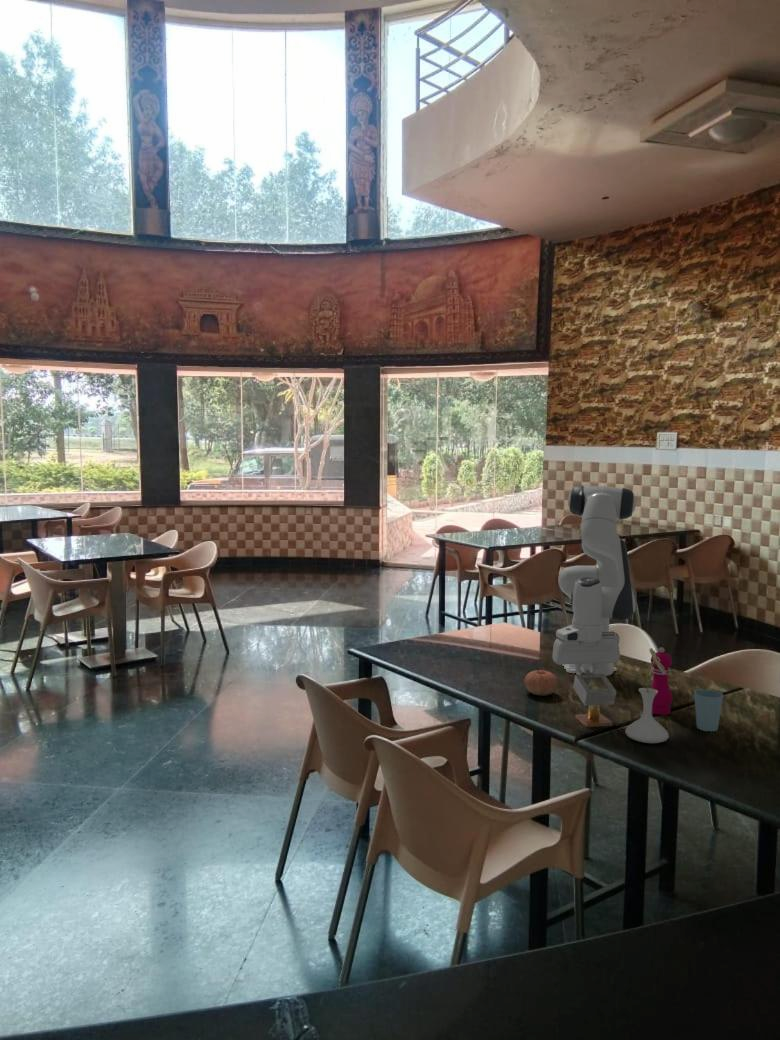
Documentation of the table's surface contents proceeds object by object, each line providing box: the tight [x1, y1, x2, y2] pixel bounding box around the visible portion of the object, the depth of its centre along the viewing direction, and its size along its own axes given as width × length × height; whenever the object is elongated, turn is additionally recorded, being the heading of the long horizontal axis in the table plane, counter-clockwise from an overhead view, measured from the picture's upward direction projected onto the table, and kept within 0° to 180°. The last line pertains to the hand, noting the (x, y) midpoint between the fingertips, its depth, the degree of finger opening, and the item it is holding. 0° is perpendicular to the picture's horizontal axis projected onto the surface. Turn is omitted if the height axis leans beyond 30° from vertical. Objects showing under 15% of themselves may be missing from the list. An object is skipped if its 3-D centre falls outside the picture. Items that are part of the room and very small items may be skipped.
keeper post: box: [574, 685, 614, 728], centre depth 222 cm, size 8×8×11 cm
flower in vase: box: [624, 647, 670, 744], centre depth 208 cm, size 13×11×25 cm
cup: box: [693, 688, 724, 733], centre depth 217 cm, size 8×8×10 cm
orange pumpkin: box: [523, 669, 559, 697], centre depth 249 cm, size 11×11×8 cm
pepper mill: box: [649, 646, 673, 716], centre depth 232 cm, size 7×7×20 cm
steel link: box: [572, 664, 617, 707], centre depth 226 cm, size 17×9×4 cm, turn 9°
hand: (585, 677), depth 228 cm, fingers closed on steel link
